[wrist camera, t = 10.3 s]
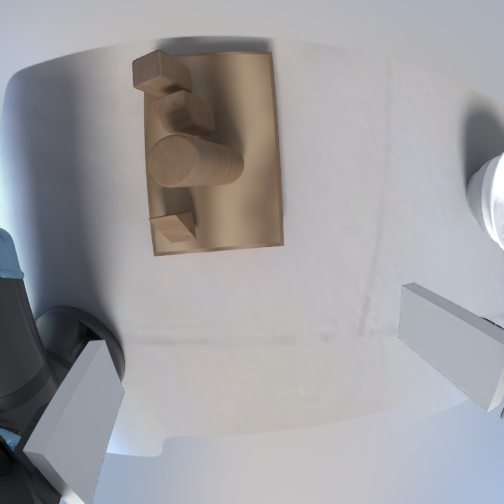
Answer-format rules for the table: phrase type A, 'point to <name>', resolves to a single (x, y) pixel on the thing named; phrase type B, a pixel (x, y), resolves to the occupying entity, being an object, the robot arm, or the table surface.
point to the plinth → (235, 136)
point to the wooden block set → (182, 139)
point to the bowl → (488, 198)
